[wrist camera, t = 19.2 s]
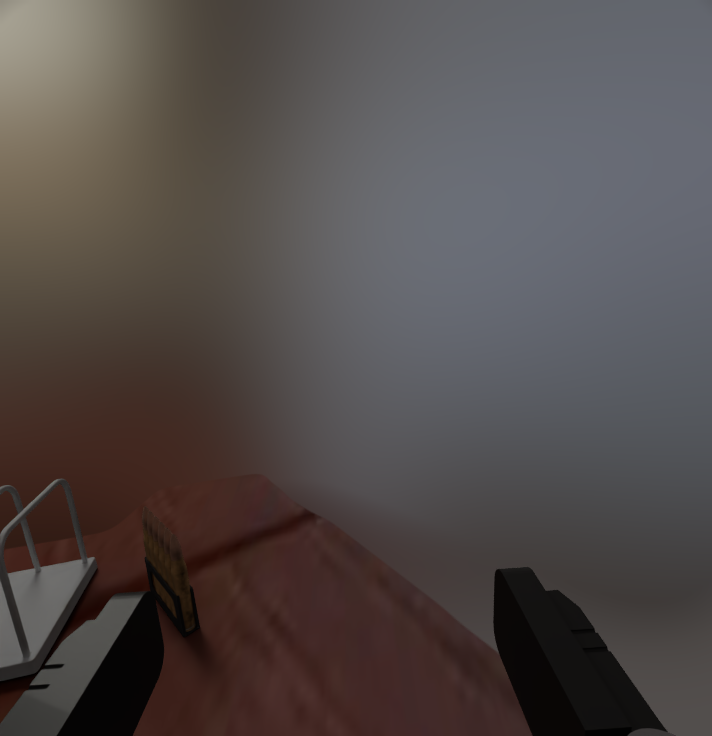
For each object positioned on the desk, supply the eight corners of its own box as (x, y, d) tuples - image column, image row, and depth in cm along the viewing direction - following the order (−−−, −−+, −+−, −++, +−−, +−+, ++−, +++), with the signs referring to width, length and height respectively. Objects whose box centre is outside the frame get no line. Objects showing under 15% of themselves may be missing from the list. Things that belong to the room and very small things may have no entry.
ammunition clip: (150, 591, 54) (134, 507, 52) (164, 583, 56) (150, 500, 53) (184, 638, 47) (167, 541, 44) (200, 627, 48) (184, 533, 46)
